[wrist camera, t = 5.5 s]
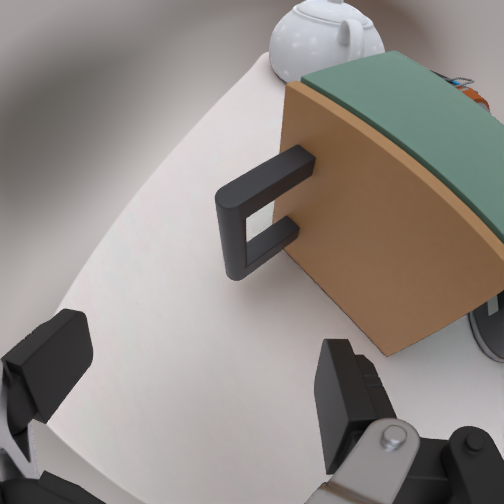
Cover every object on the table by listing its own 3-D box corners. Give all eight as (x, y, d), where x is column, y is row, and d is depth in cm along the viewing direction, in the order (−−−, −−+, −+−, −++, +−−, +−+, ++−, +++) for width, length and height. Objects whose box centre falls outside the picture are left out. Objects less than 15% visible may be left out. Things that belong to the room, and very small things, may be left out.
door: (334, 410, 19) (455, 398, 7) (215, 276, 24) (183, 128, 12) (393, 349, 21) (523, 267, 9) (277, 231, 26) (296, 79, 14)
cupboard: (394, 348, 21) (527, 261, 9) (279, 230, 26) (300, 76, 14) (452, 272, 25) (549, 170, 12) (352, 178, 30) (394, 50, 17)
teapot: (236, 69, 40) (235, -12, 28) (311, 42, 46) (319, -21, 34) (341, 125, 34) (366, 26, 22) (401, 87, 40) (424, 17, 28)
